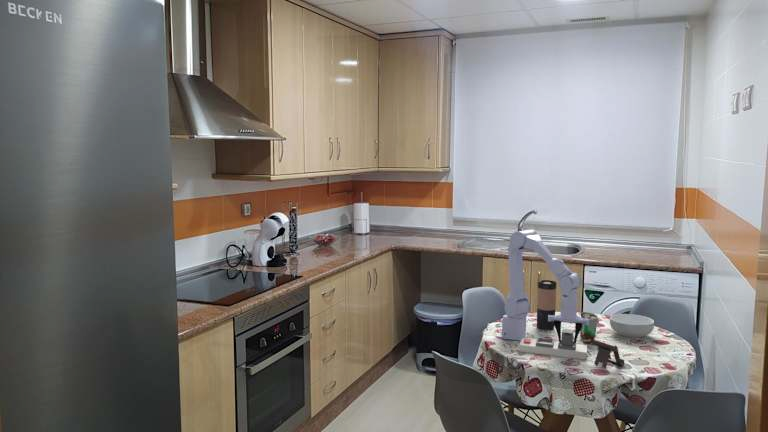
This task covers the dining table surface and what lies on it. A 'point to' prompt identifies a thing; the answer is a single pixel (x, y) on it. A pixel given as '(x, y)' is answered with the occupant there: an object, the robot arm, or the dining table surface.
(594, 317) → the food container
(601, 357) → the portable electronic device stand
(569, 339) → the block
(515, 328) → the robot arm
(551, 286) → the travel mug
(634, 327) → the cereal bowl
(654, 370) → the dining table surface
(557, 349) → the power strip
